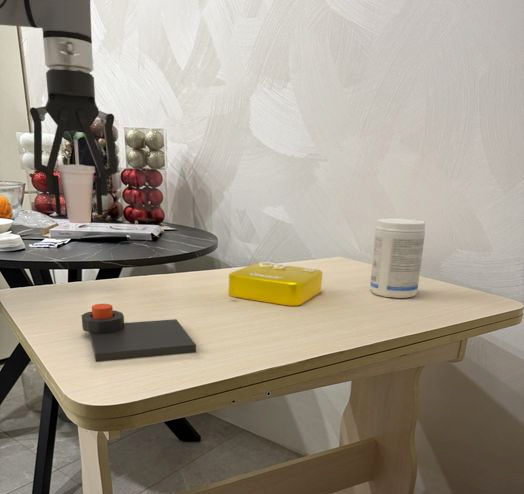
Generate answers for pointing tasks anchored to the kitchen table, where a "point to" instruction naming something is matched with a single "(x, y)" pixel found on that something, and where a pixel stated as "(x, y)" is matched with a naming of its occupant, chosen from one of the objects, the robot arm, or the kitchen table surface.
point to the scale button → (102, 311)
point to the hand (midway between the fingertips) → (79, 213)
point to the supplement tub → (397, 257)
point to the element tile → (275, 283)
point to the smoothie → (77, 189)
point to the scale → (135, 338)
